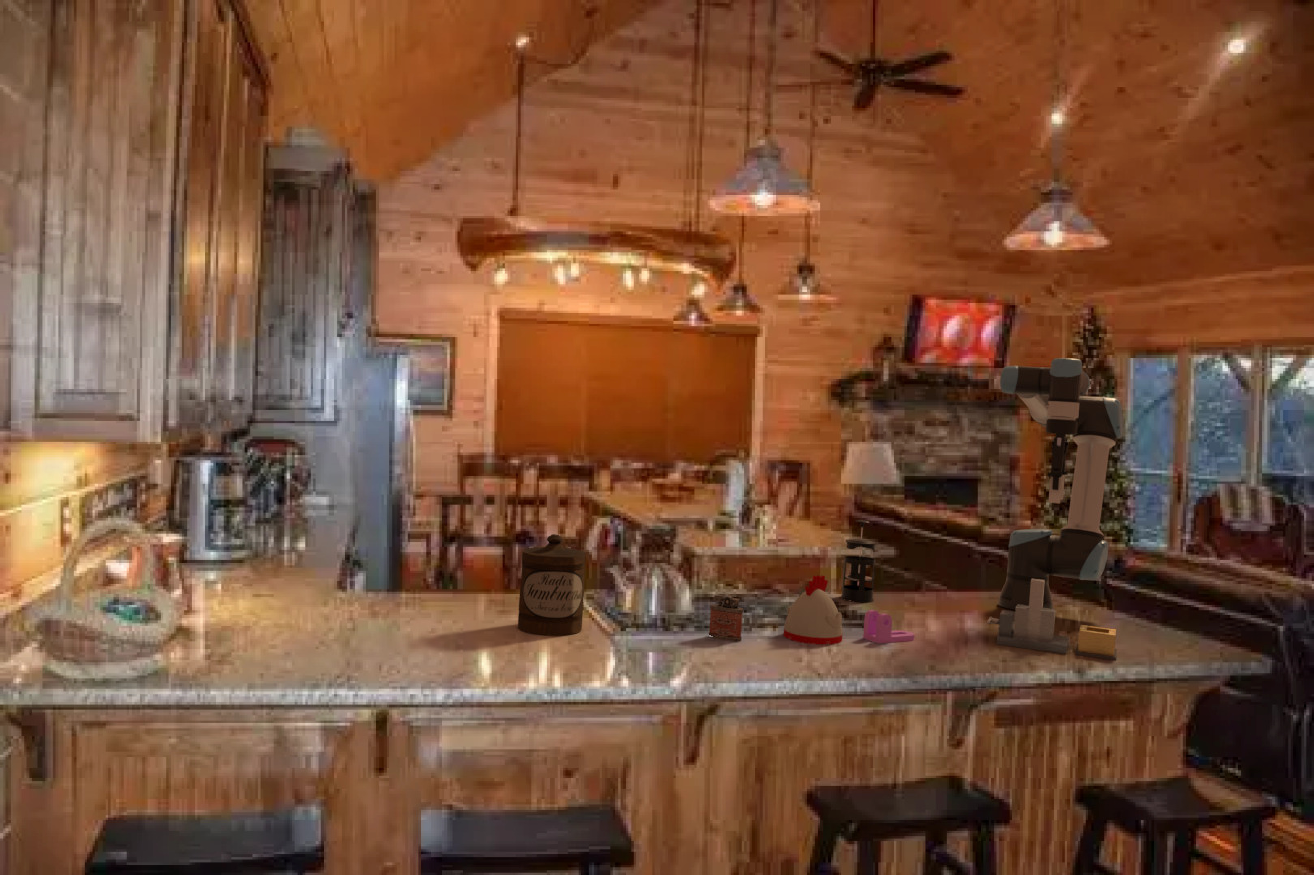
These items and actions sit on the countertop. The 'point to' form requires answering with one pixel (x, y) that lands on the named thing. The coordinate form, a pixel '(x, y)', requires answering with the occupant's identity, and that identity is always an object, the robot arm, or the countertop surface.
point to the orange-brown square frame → (1097, 640)
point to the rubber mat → (1096, 654)
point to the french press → (858, 563)
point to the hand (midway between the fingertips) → (1055, 501)
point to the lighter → (726, 619)
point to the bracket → (883, 629)
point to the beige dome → (814, 616)
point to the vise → (1030, 624)
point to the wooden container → (551, 589)
